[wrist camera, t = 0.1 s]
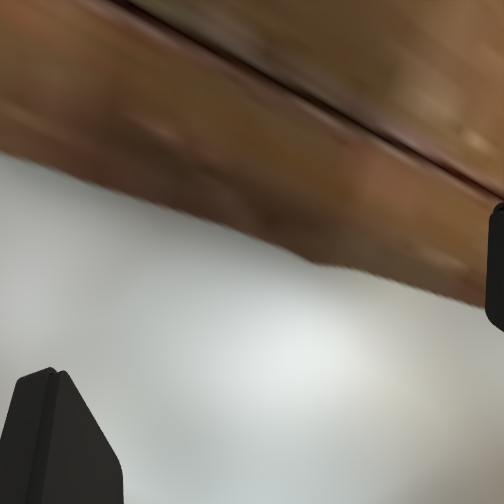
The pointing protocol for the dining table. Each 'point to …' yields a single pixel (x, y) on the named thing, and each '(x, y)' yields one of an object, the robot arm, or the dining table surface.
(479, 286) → the dining table surface
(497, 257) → the robot arm
